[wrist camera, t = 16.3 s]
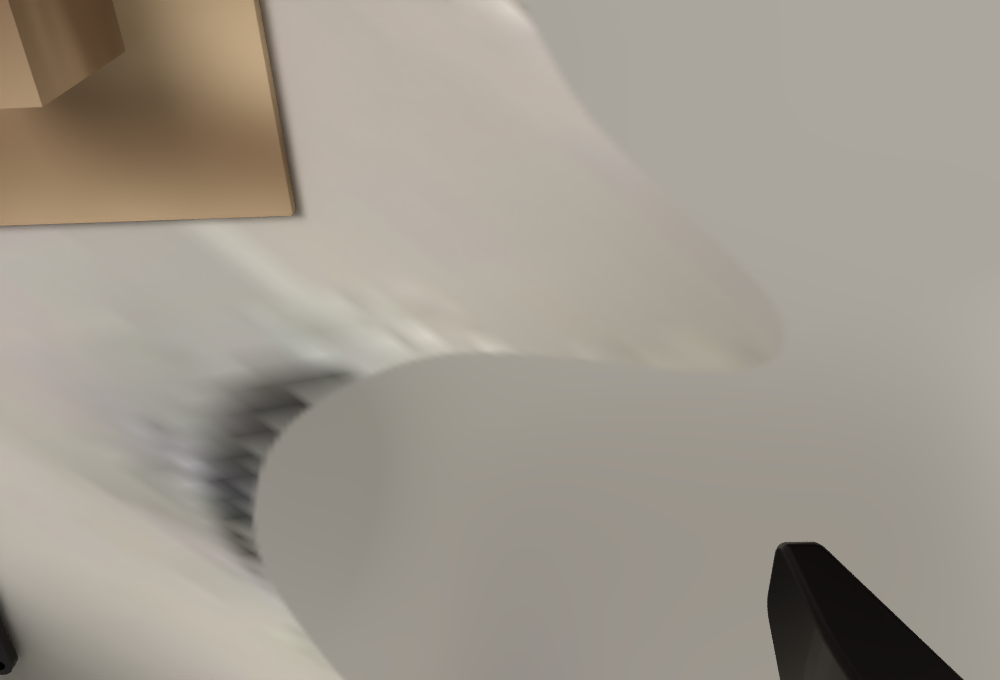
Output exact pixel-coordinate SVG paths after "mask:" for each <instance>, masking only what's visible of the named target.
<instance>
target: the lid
mask: <svg viewBox="0 0 1000 680" xmlns="http://www.w3.org/2000/svg"><path fill="white" fill-rule="evenodd" d="M295 210H296V206H295V200H294V194H293V189H292V183H291V178H290V172H289V166H288V161H287V155H286V150H285V144H284V138H283V133H282V127H281V121H280V116H279V110H278V105H277V99H276V93H275V88H274V82H273V77H272V71H271V65H270V60H269V54H268V48H267V43H266V37H265V32H264V26H263V20H262V15H261V9H260V4H259V0H0V226H8V225H36V224H65V223H94V222H122V221H151V220H180V219H208V218H237V217H266V216H293V214H294V212H295Z"/></svg>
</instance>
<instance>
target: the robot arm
mask: <svg viewBox="0 0 1000 680" xmlns="http://www.w3.org/2000/svg"><path fill="white" fill-rule="evenodd" d="M767 607H768V618H769V623H770V629H771V634H772V639H773V644H774V649H775V655H776V660H777V665H778V671H779V676H780V680H963V679H962V678H961V677H960V676H959V675H958V674H957V673H956V672H955V671H954V670H953V669H952V668H951V667H950V666H948V665H947V664H946V663H945V662H944V661H943V660H942V659H941V658H940V657H939V656H938V655H937V654H936V653H935V652H934V651H933V650H932V649H931V648H929V646H927V645H926V644H925V643H924V642H923V641H922V640H921V639H920V638H919V637H918V636H917V635H916V634H915V633H914V632H913V631H912V630H911V629H909V628H908V627H907V626H906V625H905V624H904V623H903V622H902V621H901V620H900V619H899V618H898V617H897V616H896V615H895V614H894V613H893V612H892V611H891V610H890V609H889V608H888V607H887V606H885V605H884V604H883V603H882V602H881V601H880V600H879V599H878V598H877V597H876V596H875V595H874V594H873V593H872V592H871V591H870V590H868V588H867V587H866V586H864V585H863V584H862V583H861V582H860V581H859V580H858V579H857V578H856V577H855V576H854V575H853V574H852V573H851V572H850V571H849V570H847V568H846V567H844V566H843V565H842V564H841V563H840V562H839V561H838V560H837V559H836V558H835V557H834V556H833V555H832V554H831V553H830V552H829V551H828V550H827V549H825V547H823V546H822V545H820V544H818V543H816V542H784V543H781V544H780V545H779V546H778V547H777V549H776V552H775V557H774V563H773V568H772V574H771V580H770V585H769V591H768V598H767ZM17 660H18V656H17V653H16V651H15V649H14V647H13V645H12V642H11V640H10V638H9V636H8V634H7V631H6V629H5V627H4V625H3V623H2V621H1V618H0V675H4V674H8V673H10V672H11V671H12V669H13V667H14V666H15V664H16V662H17Z"/></svg>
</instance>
